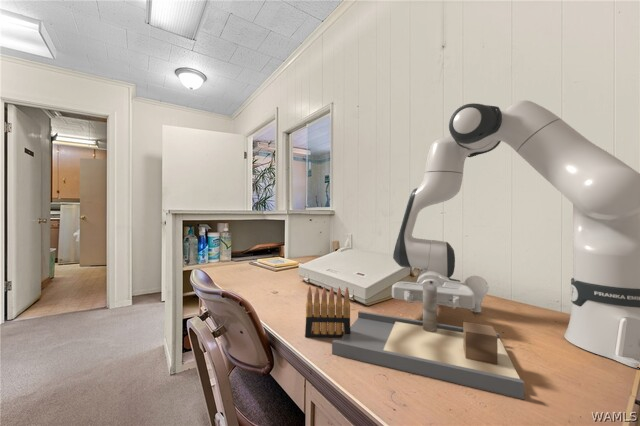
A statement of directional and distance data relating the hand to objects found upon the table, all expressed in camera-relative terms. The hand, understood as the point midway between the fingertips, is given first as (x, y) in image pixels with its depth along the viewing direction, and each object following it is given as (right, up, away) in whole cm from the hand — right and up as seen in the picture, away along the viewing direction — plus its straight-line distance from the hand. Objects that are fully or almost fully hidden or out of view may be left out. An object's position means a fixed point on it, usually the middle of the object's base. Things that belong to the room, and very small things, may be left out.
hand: (430, 302), depth 65 cm
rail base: (-6, -7, -8) cm, 12 cm away
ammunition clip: (-25, -8, -2) cm, 26 cm away
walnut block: (+3, -5, -14) cm, 15 cm away
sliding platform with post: (-1, -6, -10) cm, 12 cm away
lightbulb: (+20, -8, +15) cm, 26 cm away
